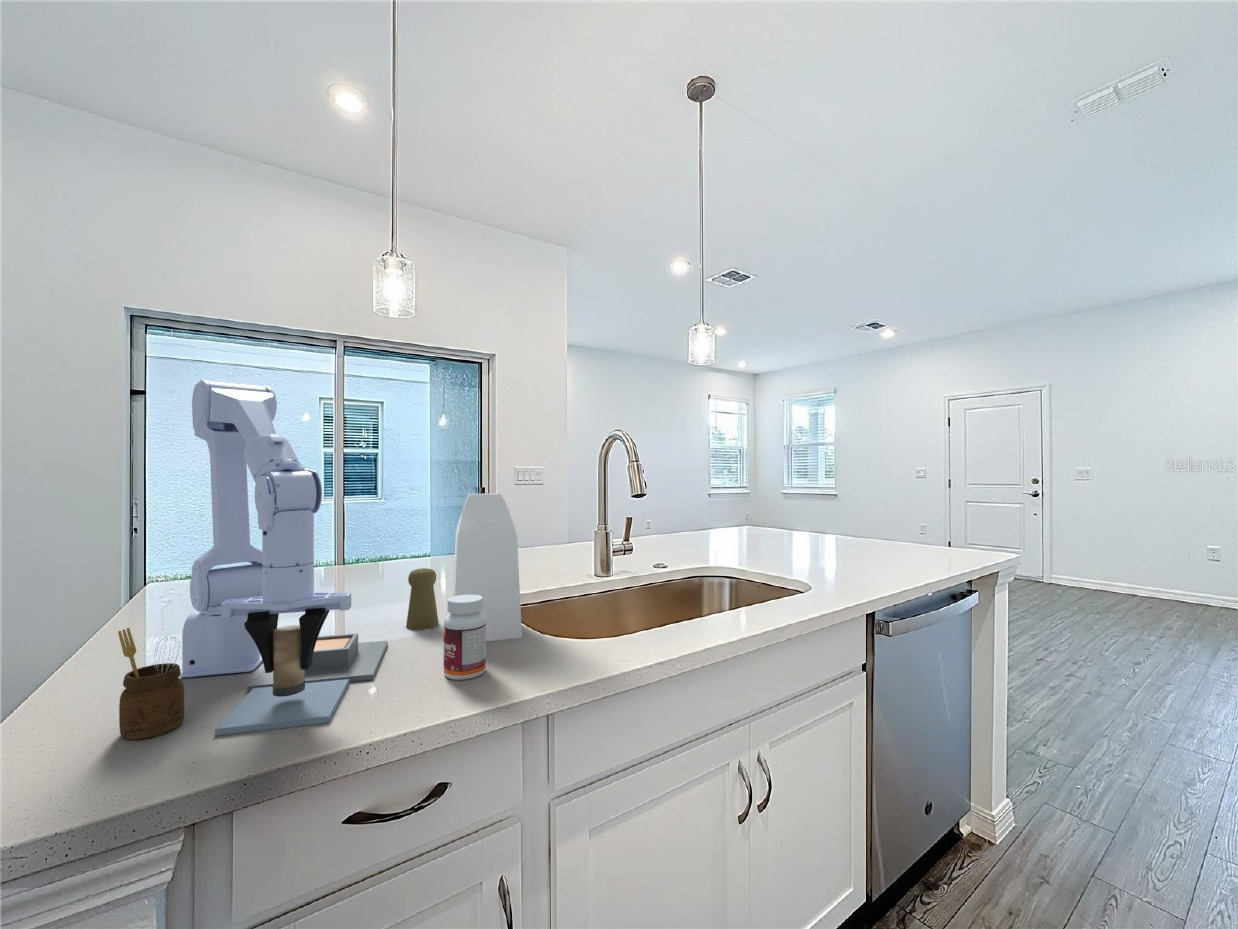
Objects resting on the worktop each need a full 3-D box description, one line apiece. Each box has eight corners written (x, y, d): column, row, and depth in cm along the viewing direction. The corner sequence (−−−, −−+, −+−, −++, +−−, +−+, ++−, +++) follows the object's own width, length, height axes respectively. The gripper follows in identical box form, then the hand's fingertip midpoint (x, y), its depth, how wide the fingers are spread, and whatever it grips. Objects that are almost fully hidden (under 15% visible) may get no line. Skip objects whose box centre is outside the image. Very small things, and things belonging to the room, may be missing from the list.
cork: (428, 630, 104) (428, 572, 104) (399, 628, 105) (399, 571, 105) (444, 621, 110) (444, 566, 110) (417, 620, 111) (417, 565, 111)
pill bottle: (436, 672, 83) (436, 598, 83) (473, 662, 87) (473, 591, 87) (455, 684, 79) (455, 605, 79) (493, 673, 83) (493, 598, 83)
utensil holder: (161, 740, 63) (160, 635, 63) (102, 743, 62) (101, 637, 62) (196, 716, 69) (196, 620, 69) (142, 719, 68) (142, 622, 68)
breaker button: (298, 667, 82) (298, 653, 82) (309, 653, 88) (309, 641, 88) (342, 663, 84) (342, 649, 84) (350, 650, 90) (350, 637, 90)
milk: (513, 620, 111) (513, 491, 111) (521, 637, 100) (521, 494, 100) (451, 626, 107) (450, 492, 107) (452, 644, 96) (452, 496, 96)
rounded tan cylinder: (268, 698, 69) (268, 634, 69) (277, 686, 73) (277, 626, 73) (300, 694, 70) (300, 631, 70) (308, 684, 74) (308, 624, 74)
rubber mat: (214, 735, 64) (214, 729, 64) (253, 694, 75) (253, 688, 75) (329, 722, 67) (329, 716, 67) (349, 684, 79) (349, 679, 79)
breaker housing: (247, 692, 76) (247, 666, 76) (284, 653, 92) (284, 632, 92) (372, 679, 80) (372, 655, 80) (387, 645, 96) (387, 624, 96)
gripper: (209, 572, 65) (209, 686, 65) (343, 566, 69) (343, 674, 69) (233, 562, 72) (233, 665, 72) (354, 557, 76) (354, 655, 76)
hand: (288, 668), depth 71 cm, fingers closed on rounded tan cylinder, 3 cm apart
